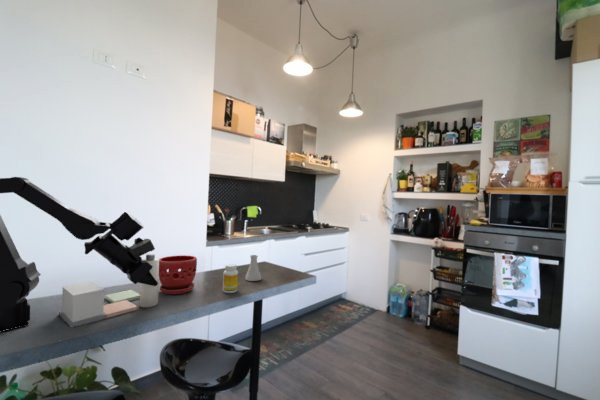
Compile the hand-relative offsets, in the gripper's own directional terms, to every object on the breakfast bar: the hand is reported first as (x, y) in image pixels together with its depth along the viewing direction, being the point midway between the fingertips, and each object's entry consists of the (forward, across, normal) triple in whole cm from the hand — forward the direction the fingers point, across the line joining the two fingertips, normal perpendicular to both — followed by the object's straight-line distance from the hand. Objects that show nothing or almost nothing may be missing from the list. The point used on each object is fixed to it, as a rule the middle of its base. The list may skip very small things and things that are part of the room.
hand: (154, 282), depth 92 cm
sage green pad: (0, +11, +9) cm, 15 cm away
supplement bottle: (+23, -2, -13) cm, 27 cm away
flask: (+34, +5, -24) cm, 41 cm away
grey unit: (-8, +2, +18) cm, 19 cm away
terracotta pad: (-2, +2, +12) cm, 12 cm away
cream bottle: (+4, 0, +6) cm, 7 cm away
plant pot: (+12, +9, -2) cm, 15 cm away
